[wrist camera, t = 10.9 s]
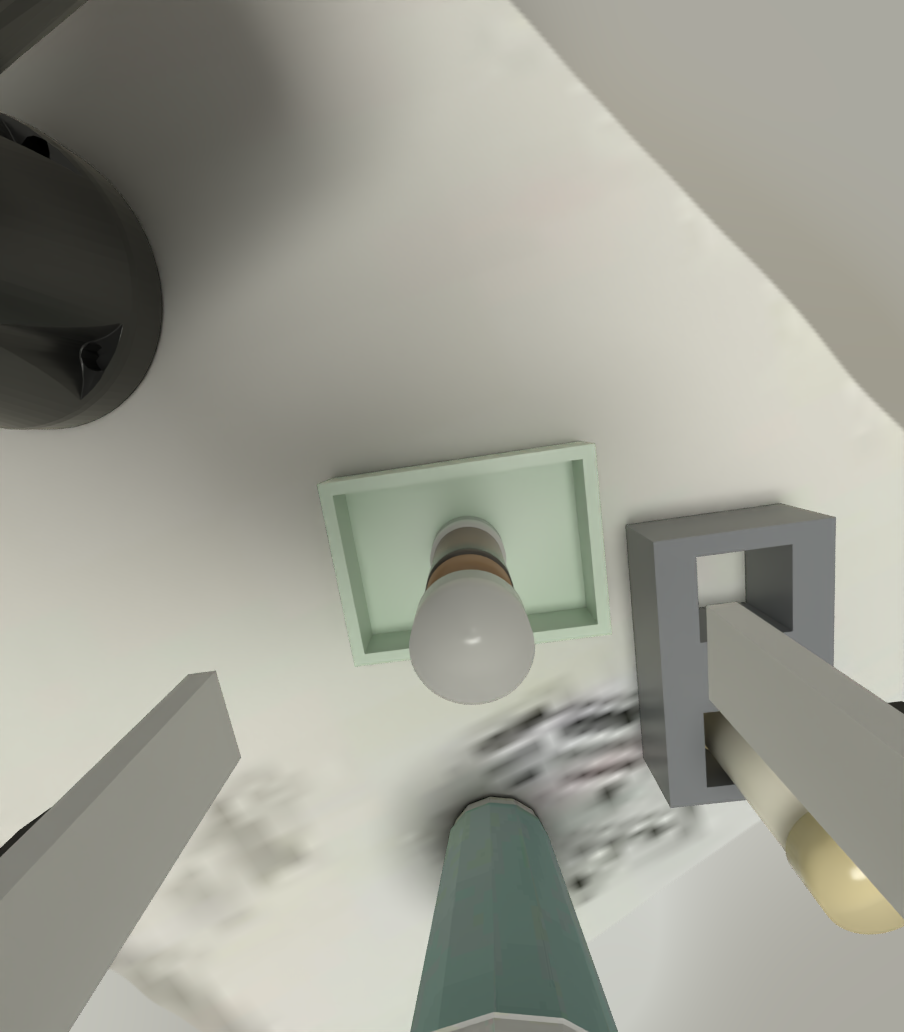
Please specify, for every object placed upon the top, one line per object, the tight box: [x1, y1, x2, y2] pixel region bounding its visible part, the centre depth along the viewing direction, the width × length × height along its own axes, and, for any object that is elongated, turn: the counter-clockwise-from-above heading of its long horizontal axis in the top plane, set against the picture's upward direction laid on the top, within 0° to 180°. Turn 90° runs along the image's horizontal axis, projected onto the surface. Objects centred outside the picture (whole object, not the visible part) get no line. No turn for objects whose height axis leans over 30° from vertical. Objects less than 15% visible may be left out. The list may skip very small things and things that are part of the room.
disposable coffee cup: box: [411, 797, 618, 1032], centre depth 24 cm, size 11×11×15 cm
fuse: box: [703, 711, 904, 934], centre depth 23 cm, size 4×4×12 cm
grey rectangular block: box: [626, 504, 836, 808], centre depth 26 cm, size 16×9×4 cm, turn 9°
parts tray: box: [317, 441, 612, 667], centre depth 26 cm, size 11×15×3 cm
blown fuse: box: [409, 516, 535, 705], centre depth 21 cm, size 4×4×12 cm
